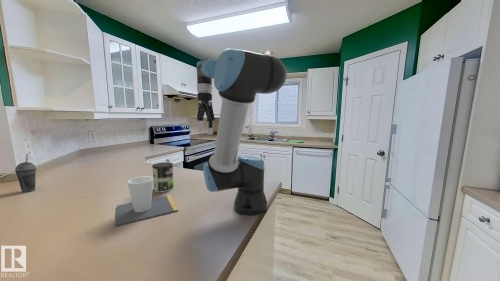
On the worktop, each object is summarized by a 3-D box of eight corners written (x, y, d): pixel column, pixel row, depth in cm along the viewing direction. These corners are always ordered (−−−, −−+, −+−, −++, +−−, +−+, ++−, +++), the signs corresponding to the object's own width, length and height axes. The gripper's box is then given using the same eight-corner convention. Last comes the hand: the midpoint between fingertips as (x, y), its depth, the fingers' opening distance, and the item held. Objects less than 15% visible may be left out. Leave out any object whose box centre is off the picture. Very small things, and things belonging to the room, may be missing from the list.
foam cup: (159, 204, 86) (157, 176, 85) (146, 214, 77) (144, 184, 76) (139, 203, 87) (137, 175, 86) (124, 213, 78) (122, 183, 76)
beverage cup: (16, 192, 99) (10, 154, 96) (36, 187, 105) (31, 152, 103) (20, 194, 96) (14, 156, 93) (41, 190, 102) (36, 153, 100)
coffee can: (177, 186, 110) (176, 162, 108) (166, 193, 100) (165, 167, 98) (161, 184, 112) (160, 161, 110) (149, 191, 102) (147, 166, 100)
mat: (177, 211, 82) (177, 209, 82) (115, 226, 70) (115, 224, 70) (169, 196, 97) (169, 194, 97) (117, 206, 85) (117, 205, 85)
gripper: (221, 91, 91) (221, 134, 94) (203, 95, 112) (204, 131, 115) (206, 89, 87) (206, 135, 90) (190, 94, 108) (191, 131, 110)
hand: (205, 133), depth 102 cm, fingers open, 13 cm apart
